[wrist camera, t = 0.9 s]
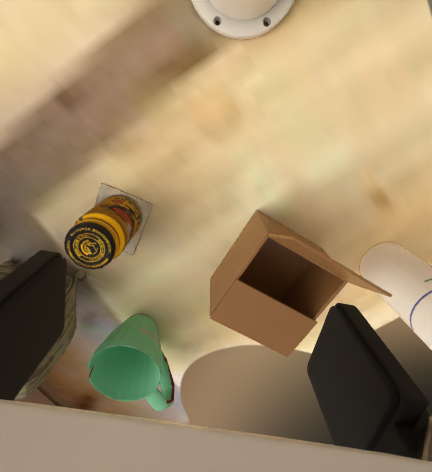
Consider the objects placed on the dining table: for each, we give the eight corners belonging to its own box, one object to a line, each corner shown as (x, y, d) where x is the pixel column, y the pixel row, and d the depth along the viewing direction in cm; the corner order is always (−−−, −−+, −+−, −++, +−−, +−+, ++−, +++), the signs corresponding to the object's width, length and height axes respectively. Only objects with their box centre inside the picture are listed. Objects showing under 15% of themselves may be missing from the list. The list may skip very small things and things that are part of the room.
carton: (256, 209, 42) (268, 234, 33) (322, 249, 44) (351, 283, 35) (210, 278, 46) (209, 318, 37) (273, 311, 48) (287, 357, 39)
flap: (268, 235, 33) (269, 233, 33) (350, 283, 35) (352, 281, 35) (292, 239, 27) (294, 236, 27) (391, 297, 29) (392, 294, 29)
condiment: (152, 204, 42) (129, 233, 31) (133, 254, 45) (105, 298, 33) (102, 182, 41) (59, 205, 30) (85, 235, 43) (40, 274, 32)
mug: (98, 319, 49) (71, 366, 39) (146, 290, 47) (129, 332, 37) (153, 377, 53) (140, 431, 44) (199, 352, 51) (195, 404, 42)
